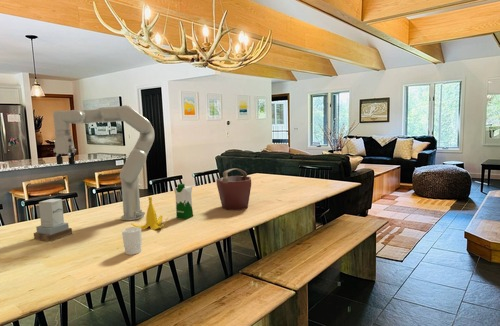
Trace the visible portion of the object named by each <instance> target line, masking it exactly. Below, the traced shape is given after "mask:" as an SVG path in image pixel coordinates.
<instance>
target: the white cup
mask: <svg viewBox="0 0 500 326" xmlns="http://www.w3.org/2000/svg"><path fill="white" fill-rule="evenodd" d="M121 235H122V242H123V243H122V244H123V247H124V253H125V255H127V256H129V255H130V256H131V255H137V254H140V253H141V252H142V251H143V250H142V249H143V248H142V244H143V243H142V240H143V239H142V238H143V237H142V229H141V228H140V227H135V226H130V227H126V228H124V229H122V231H121Z"/></svg>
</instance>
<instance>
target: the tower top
mask: <svg viewBox="0 0 500 326" xmlns="http://www.w3.org/2000/svg"><path fill="white" fill-rule="evenodd" d="M35 227H36V229H35V230H36V232H37V233H42V234H47V235H52V234H55V233H58V232H61V231H64V230H67V229H69V228H70V227H69V222H64V223H62V224H59V225H57V226H54V227H42V226H41V225H39V226H35Z"/></svg>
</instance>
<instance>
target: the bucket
mask: <svg viewBox="0 0 500 326" xmlns="http://www.w3.org/2000/svg"><path fill="white" fill-rule="evenodd" d="M235 170H236V171H238V172H240V173H241V174H242V175H231V176H228V175H229V174H228V173H230V172H232V171H235ZM222 176H223V177H220V178H217V179H216V187H217V192H218V195H219V199H220V203H221V208H223V209H225V210H226V211H240V210H246V209H248V207H249V201H250V196H251V190H252V189H251V188H252V178H251V176H248V174H247V172H246V171H245V170H243V169H240V168H229V169H226V170H224V171H223V172H222Z"/></svg>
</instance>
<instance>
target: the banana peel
mask: <svg viewBox="0 0 500 326" xmlns="http://www.w3.org/2000/svg"><path fill="white" fill-rule="evenodd" d="M147 198H148V207H147V210H146V211H147V212H146V217H145V218H146V219H145V220H146V221H145V222H146V223H145V225H137V224H135V223H132V222H131V223H130V225H131V226H132V227H140V228H141V230H147V229H148V228H149V227H150V229H151V230H157V229H162V228H163V227H164V224H162V221H163V215H160V216H159V218H158V216H157V213H156V212H157V211H156V210H155V208H154V204H153V196H148V197H147Z"/></svg>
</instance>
